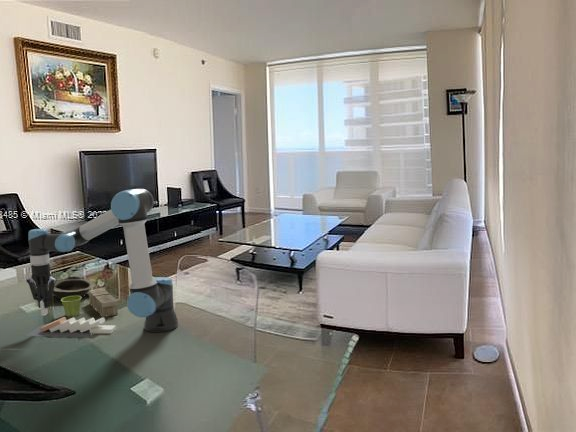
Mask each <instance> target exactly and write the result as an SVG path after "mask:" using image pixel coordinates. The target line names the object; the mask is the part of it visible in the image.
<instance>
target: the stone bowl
mask: <svg viewBox="0 0 576 432" xmlns="http://www.w3.org/2000/svg"><path fill="white" fill-rule="evenodd" d="M49 284H50V282H49V281H48V289H49ZM96 285H97V284H96V282H95V281H93V280H91V279H86V278H81V277H78V276H69V277H67V278H64V279H57V280H56V282H55V285H54V291H53V296H55V297H56V299H57V300H59V299H62V298H65V297H68V296H81V297H82V296H83V297H85V296H86V295H87V294H89V291H90V289H93V288H94V287H95V286H96ZM84 295H85V296H84ZM83 297H82V298H83Z"/></svg>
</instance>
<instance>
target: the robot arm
mask: <svg viewBox="0 0 576 432" xmlns="http://www.w3.org/2000/svg"><path fill="white" fill-rule="evenodd" d="M154 204H155V199H154V196H153V194H152V193H151V192H150V191H149V190H148V189H144V188H141V187H138V188H132V189H126V190H122V191H119V192H118V193H116V194H115V195H114V196H113V198H112V199H111V203H110V209H109V210H108V211H106V212H103V213H102V214H100V215H99V216H96V217H95V218H93V219H91V220H89V221H87V222H86V223H84V224H81V225H80V226H77V228H75V229H72V230H70V231H66V232H61V233H54V234H52V233H50V234H49V232H48V230H47V229H45V228H34V229H30V230H29V231H28V239H27V241H28V245H29V246H28V247H29V260H30V264H31V266H30V272H31V277H29V278H27V279H26V280H25V281H26V283H27V284H28V286H29V289H30V293H31V296H32V298H33V300H34V301H37V302H38V304H37V305H38V309H40V317H44V316H47V315H48V308H49V300H52V299H53V297H54V295H53V291H54V285H55V282H56V280H58V279H57V278H54V277H53V276H52V274H51V264H50V262H51V261H50V252H61V253H65V252H71V251H72V250H73V249H74V248H76V247H78V246H82V245H85V244H87V243H88V242H89V241H90V240H92V239H93V238H96V237H98V236H100V235H101V234H103V233H105V232H107V231H108V230H110V229H113V228H115V227H116V226H118V225H120V226H122V227H123V235H124V239H125V240H124V241H125V245H126V247H125V248H126V252H127V258H128V259H127V260H128V264H129V265H128V266H129V270H130V271H129V272H130V277H131V282H130V285H129V287H128V288H129V296H128V297H127V300H126V307H127V309H128V311H129V312H130V314H132V315H133V316H135V317H137V318H140V319H141V318H145V320H144V323H143V325H144V326H143V328H144V330H145V331H147V332H150V333H164V332H169V331H172V330H174V329H176V328H178V326H179V320H178V316H177V314H176V312H175V310H174V285H173V278H172V279H171V278H170V277H165V276H164V277H163V276H156V277H153V272H152V271H153V270H152V265H151V259H150V258H151V257H150V253H149V246H148V239H147V234H146V232H147V231H146V226H145V223H146V222H147V221H148V215H147V214H148V213H150V212H151V211H152V210H153V207H154ZM49 282H50V284H49ZM48 284H49V288H48Z"/></svg>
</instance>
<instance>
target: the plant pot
mask: <svg viewBox="0 0 576 432" xmlns="http://www.w3.org/2000/svg"><path fill="white" fill-rule="evenodd" d="M82 298H83V297H81V296H68V297H65V298H62V299H61V300H60V301H61V302H62V303H61V304H62V305H63V310H64V313H65V316H66V317H70V318H71V317H76V316H80V307H81V301H82Z"/></svg>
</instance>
